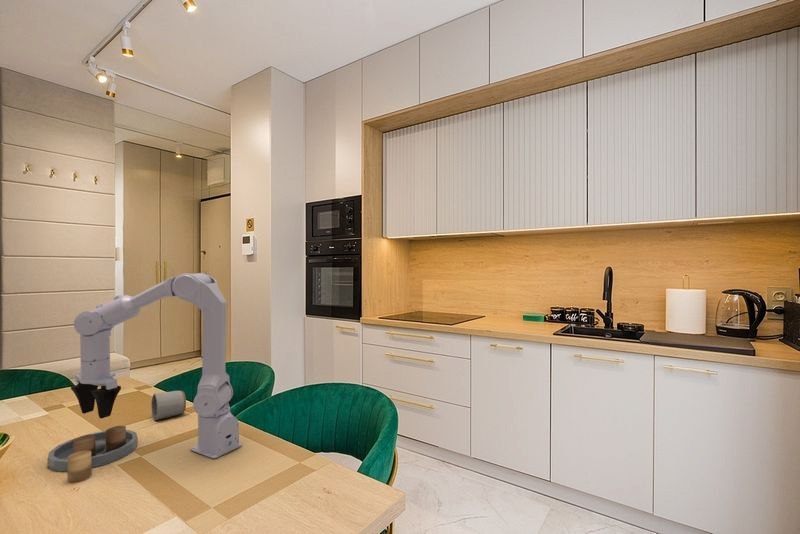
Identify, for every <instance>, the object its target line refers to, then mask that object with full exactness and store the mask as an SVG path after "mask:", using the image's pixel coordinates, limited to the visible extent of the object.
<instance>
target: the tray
mask: <svg viewBox="0 0 800 534" xmlns="http://www.w3.org/2000/svg"><path fill="white" fill-rule="evenodd" d="M86 435H95V443H96V456H92V457H91V459H92V469H95V468H99V467H103V466H105V465H108V464H111V463H114V462H116V460H117V461H119V460H121V459H123V458H124V456H125V457H127V456H128V455H130V454H131V453H132V451H133V450H134V449H135V450H136V448H137V447H138V444H139V443H138V434H137V432H135V431H133V430H129V429H126V444H125V445H123V446H122V447H120V448H118V449H115V450H112V451H110V452H107V453H106V430H103V431H99V432H98V431H97V432H92V433H89V434H86ZM76 438H77V437H75V438H71V439H69V440H67V441H65V442H62V443H60V444H58V445H57V446H55V447H54V448H53V449H51V450H50V451H48V456H47V465H48V468H49V469H50V470H51V471H54V472H60V473H63V472H64V473H68V456H69V455H71V454H73V440H74V439H76ZM135 450H134V451H135ZM134 451H133V452H134ZM129 453H130V454H129ZM126 455H127V456H126ZM122 457H123V458H122ZM120 458H121V459H120ZM118 459H119V460H118Z"/></svg>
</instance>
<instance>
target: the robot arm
mask: <svg viewBox="0 0 800 534" xmlns="http://www.w3.org/2000/svg"><path fill="white" fill-rule="evenodd" d="M167 297H177V298H179V299H180V300H182V301H186V302H188V303H191V304H193V305H194V306H195V307H197V308H198V309H199V310H201V311H202V312H203V313H202V314H203V315H202V317H203V319H202V362H201V363H202V366H201V367H202V371H201V377H200V380H199V381H198V385H197V393H196V395H195V396H194V399H193V401H192V402H193V403H192V406H193V410H194V412H195V413H196V414H197V432H198V433H197V439H198V440H197V441H198V442H197V445H195V446H192V447H190V448H189V449H190V451H191V452H195V453H196V454H200V455H203V456H204V457H208V458H210V459H214V460H215V459H216V458H219V457H221V456H224V455H225V454H228V453H229V452H232V451H233V450H236V449H238V448H240V447H242V446H243V444H242V443H241V442H240V428H239V427H240V426H239V420H238V418H237V417H235V416H234V415H233V413H232V412H231V407H230V404H229V402H230V401H231V399H232V398H233V395H234V390H233V387H232V385H231V383H230V382H231V381H230V375H229V374H228V373H227V372H226V368H227V367H226V363H227V362H226V361H227V360H226V359H227V358H226V356H227V315H228V314H227V313H228V312H227V311H228V310H227V308H228V307H227V305H228V304H227V301H226V299H225V297H224V295H223V293H222V291H221V290H220V287H219V285H218V281H217V280H216V279H215V278H214V277H212V276H211V275H210V274H207V273H205V272H197V273H189V272H188V273H187V272H186V273H180V274H179V275H177V276H173V277H169V278H167V279H165V280H163V281H161V282H159V283H158V284H156V285H154V286H152V287H150V288H148V289H146V290H144V291H142V292H140V293H138V294H136V295H134V296H132V295H127V294H126V295H116V296H114V297H113V300H111V301H110V302H107V303H105V304H99V305H96V306H95V309H94V310H83V311H82V312H80V313H79V314H77V316H76V317H75V318H74V320H73V327H74V329H75V331H76V332H77V334H79V336H80V337H79V338H80V339H79V341H80V343H79V344H80V347H79V348H80V373H77V374H75V383H77V384H74V385H71V386H70V390H71V391H72V392H73V394H74V395H75V397H76V399H77V401H78V404H79V407H80V410H81V413H82V414H86V413H87V414H88V413H91V412H93V411H94V409H95V403H96V407H97V415H98V417H99V419H104V418H108V417H110V416H112V411H113V407H114V404H115V402H116V401H115V400H116V398H118V397H117V396H118V394H119V393H120V391H121V390H122V386H121V385H118V379H116V378H114V377H116V373H113V372H111V347H110V346H111V341H110V340H111V339H110V338H111V336H112V335H111V333H112V332H111V331H112V330H113V328H114V327H116V326H117V325H120V324H122V323H124V322H127V321H128V320H130V319H132V318H135V317H136V316H138V315H139V314H140V311H141V309H142V308H143V307H146V306H149V305H151V304H153V303H155V302H158V301H161V300H163V299H165V298H167ZM99 387H100V388H99Z"/></svg>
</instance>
